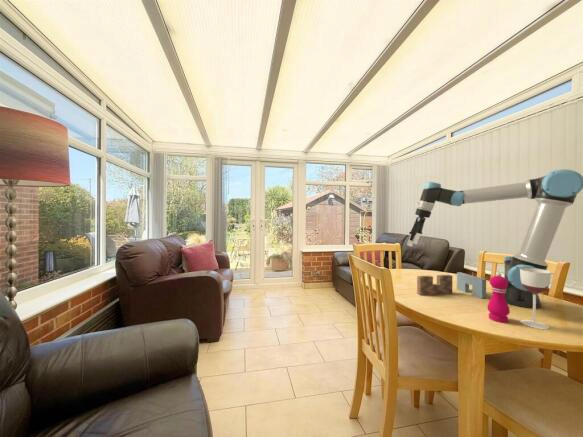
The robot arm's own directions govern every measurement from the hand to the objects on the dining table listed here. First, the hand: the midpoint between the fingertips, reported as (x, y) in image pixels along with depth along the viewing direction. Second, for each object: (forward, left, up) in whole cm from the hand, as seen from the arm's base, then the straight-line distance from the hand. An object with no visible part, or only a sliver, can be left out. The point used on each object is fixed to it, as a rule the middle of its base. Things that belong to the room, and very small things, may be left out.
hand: (411, 244), depth 139 cm
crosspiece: (-9, -30, -27) cm, 42 cm away
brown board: (-6, -10, -27) cm, 30 cm away
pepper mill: (-40, -12, -27) cm, 50 cm away
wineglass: (-46, -22, -27) cm, 58 cm away
